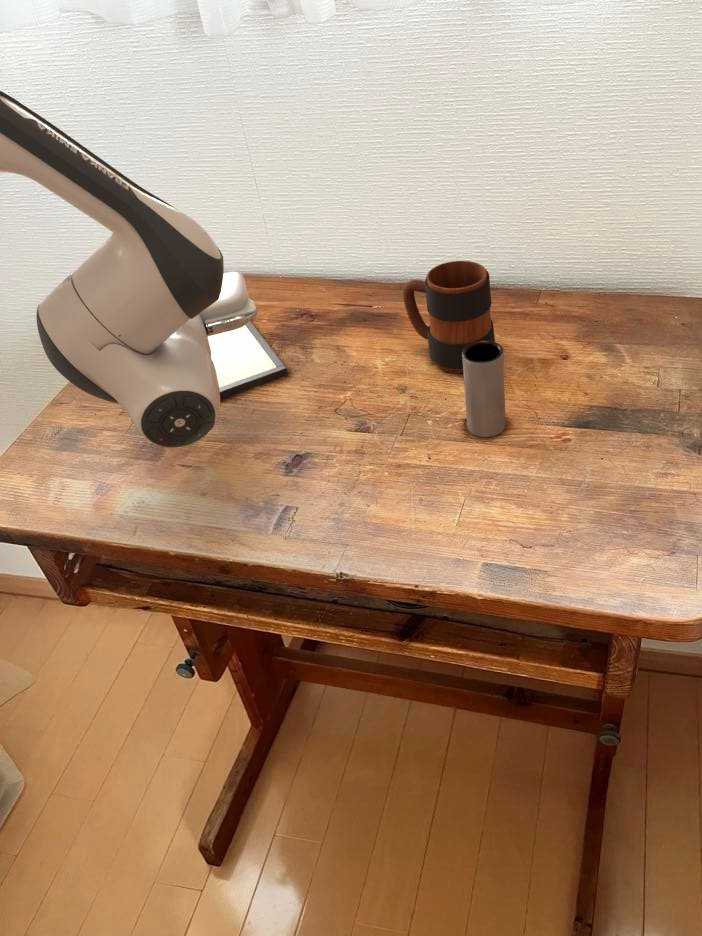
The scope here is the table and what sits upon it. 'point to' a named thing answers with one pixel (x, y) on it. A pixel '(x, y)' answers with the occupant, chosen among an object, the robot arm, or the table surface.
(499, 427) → the planter
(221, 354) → the board
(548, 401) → the table surface
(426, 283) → the mug
